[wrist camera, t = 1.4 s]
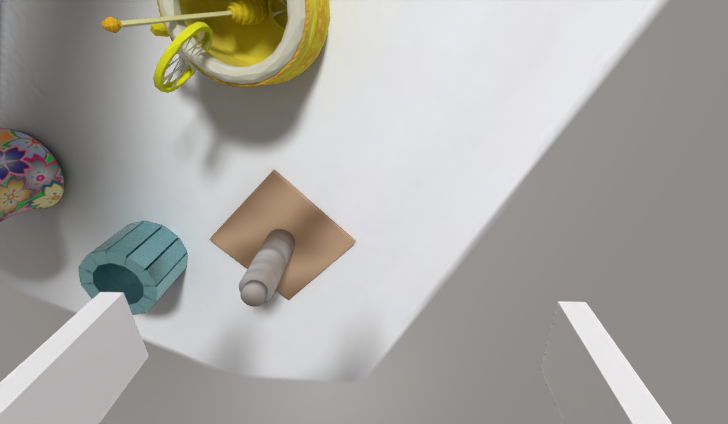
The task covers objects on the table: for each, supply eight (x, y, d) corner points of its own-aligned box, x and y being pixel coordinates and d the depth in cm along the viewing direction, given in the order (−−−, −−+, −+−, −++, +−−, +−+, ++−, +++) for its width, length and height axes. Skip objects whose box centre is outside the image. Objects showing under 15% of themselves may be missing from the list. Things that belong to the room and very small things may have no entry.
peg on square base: (211, 236, 40) (162, 293, 31) (274, 169, 36) (237, 213, 27) (289, 296, 43) (264, 363, 34) (355, 240, 39) (345, 300, 30)
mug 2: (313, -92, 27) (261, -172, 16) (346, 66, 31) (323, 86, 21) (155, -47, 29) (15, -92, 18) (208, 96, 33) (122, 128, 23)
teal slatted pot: (108, 250, 42) (66, 282, 36) (140, 208, 39) (100, 237, 34) (165, 289, 44) (133, 326, 38) (199, 252, 41) (170, 286, 36)
